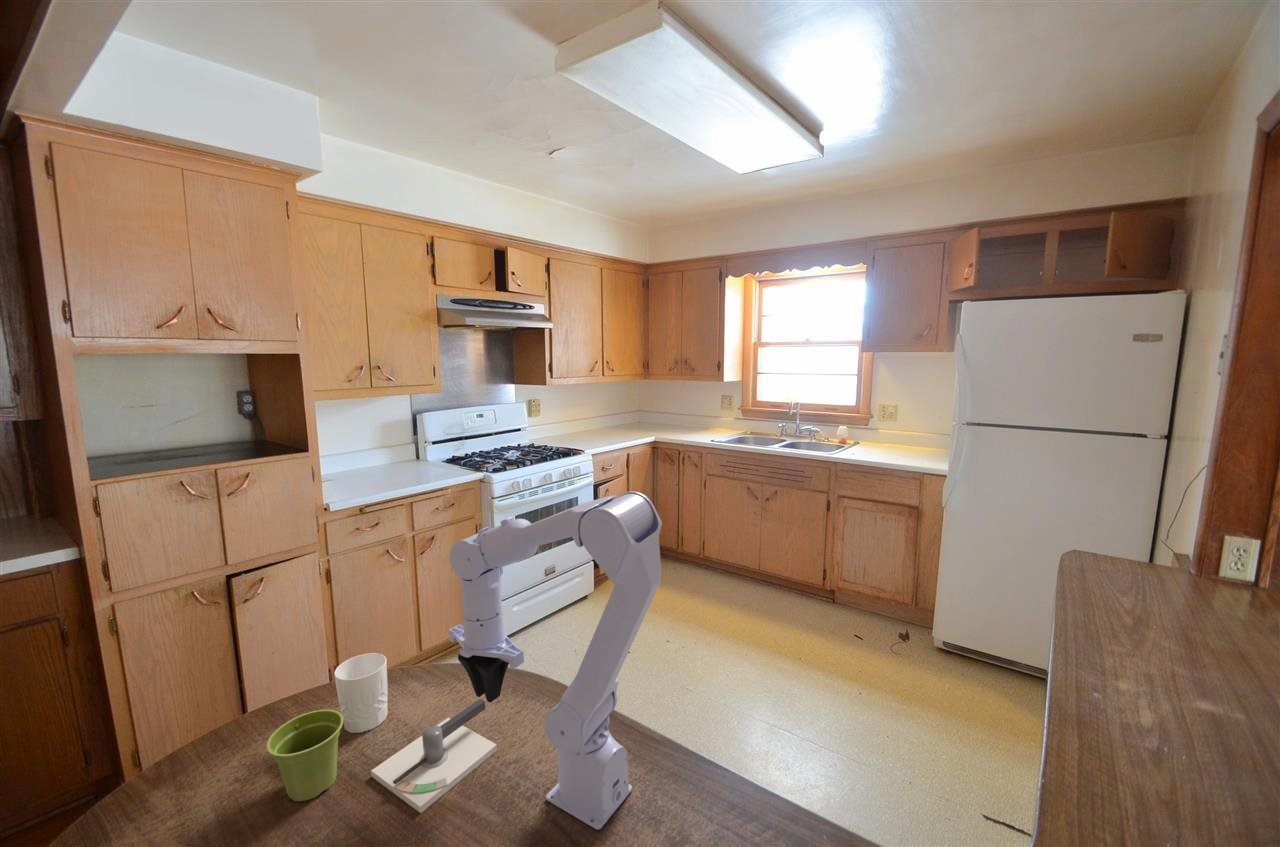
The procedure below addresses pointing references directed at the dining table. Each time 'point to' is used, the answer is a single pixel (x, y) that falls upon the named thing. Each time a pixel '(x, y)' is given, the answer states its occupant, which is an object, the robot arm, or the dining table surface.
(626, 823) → the dining table surface
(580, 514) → the robot arm
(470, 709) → the grey dial pointer
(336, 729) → the plant pot
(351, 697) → the white cup
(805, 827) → the dining table surface
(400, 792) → the board
